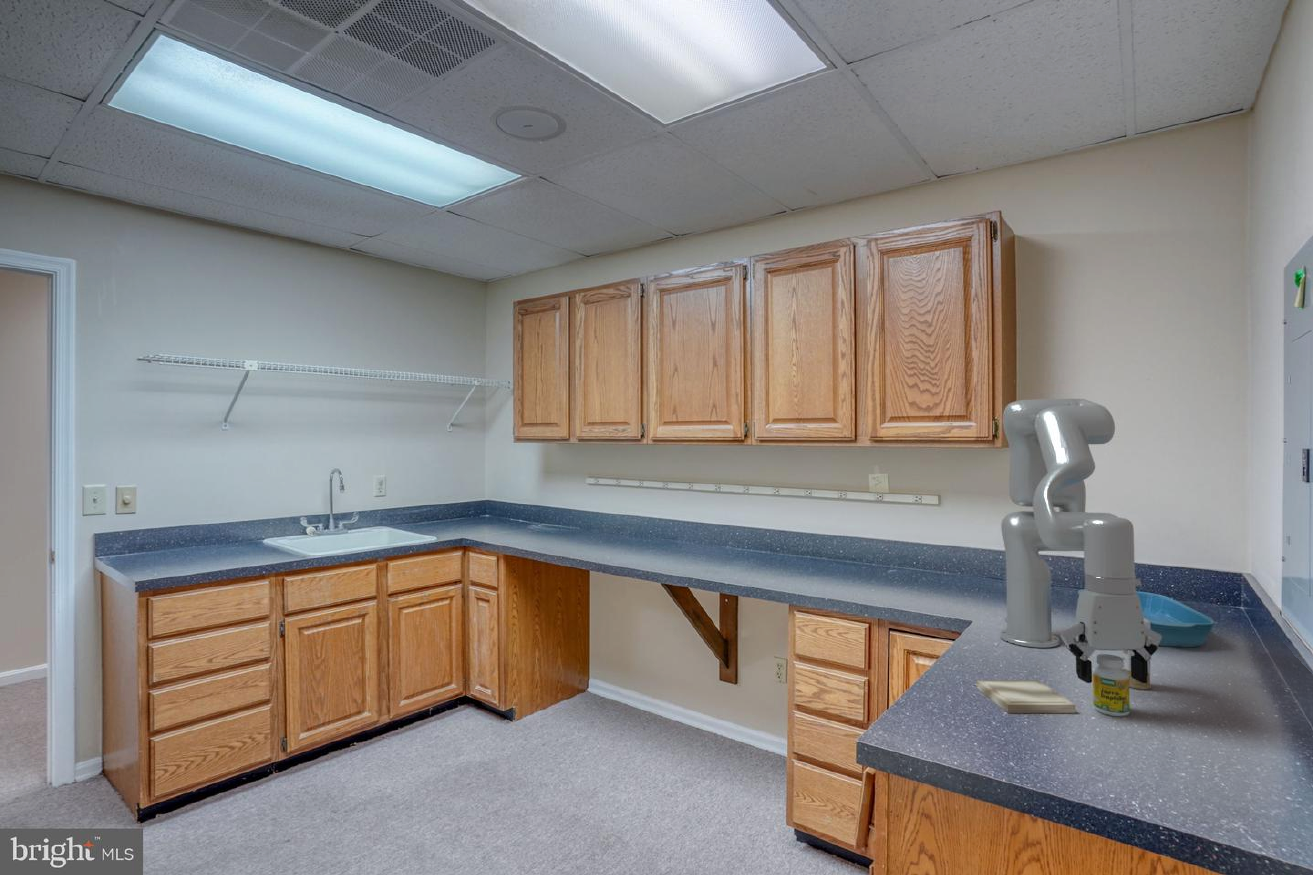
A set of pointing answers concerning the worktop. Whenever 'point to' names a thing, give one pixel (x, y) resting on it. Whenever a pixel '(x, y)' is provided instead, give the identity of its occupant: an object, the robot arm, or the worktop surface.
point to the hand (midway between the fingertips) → (1111, 680)
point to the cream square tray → (1025, 696)
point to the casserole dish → (1174, 620)
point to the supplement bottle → (1111, 686)
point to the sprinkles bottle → (1127, 665)
